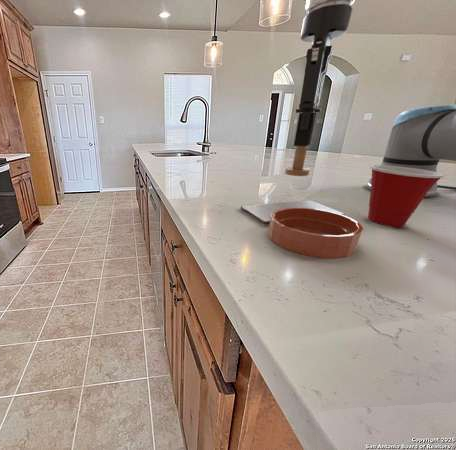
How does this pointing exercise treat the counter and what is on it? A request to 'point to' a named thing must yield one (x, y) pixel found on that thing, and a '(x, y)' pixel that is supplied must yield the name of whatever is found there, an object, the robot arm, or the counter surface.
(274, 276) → the counter surface
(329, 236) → the bowl
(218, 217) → the counter surface
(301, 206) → the board
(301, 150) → the stirrer
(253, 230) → the counter surface
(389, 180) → the plastic cup
